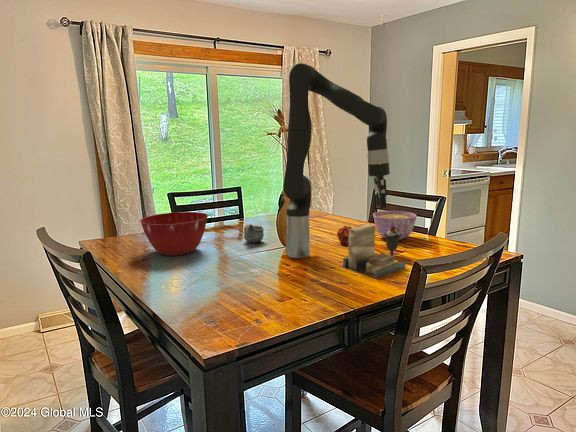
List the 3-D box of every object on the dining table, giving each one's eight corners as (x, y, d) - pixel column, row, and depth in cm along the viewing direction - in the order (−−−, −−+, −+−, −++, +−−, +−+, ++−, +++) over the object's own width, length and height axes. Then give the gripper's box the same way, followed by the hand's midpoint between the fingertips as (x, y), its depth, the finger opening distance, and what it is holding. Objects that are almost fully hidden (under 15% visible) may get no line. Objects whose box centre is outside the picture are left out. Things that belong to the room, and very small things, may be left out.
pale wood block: (348, 266, 153) (348, 229, 151) (368, 260, 160) (368, 224, 157) (354, 268, 151) (355, 230, 148) (374, 262, 158) (375, 225, 155)
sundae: (388, 262, 162) (389, 224, 159) (380, 257, 169) (381, 221, 166) (403, 260, 164) (404, 223, 161) (394, 256, 170) (396, 219, 167)
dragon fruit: (349, 243, 198) (346, 253, 187) (335, 232, 198) (331, 242, 187) (360, 229, 195) (357, 239, 184) (345, 219, 195) (341, 228, 184)
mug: (266, 240, 200) (266, 219, 198) (259, 246, 188) (259, 225, 186) (247, 239, 202) (246, 219, 200) (239, 246, 190) (238, 224, 188)
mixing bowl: (128, 256, 177) (124, 220, 174) (175, 240, 202) (172, 209, 199) (179, 264, 164) (176, 226, 161) (222, 247, 189) (221, 213, 186)
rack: (339, 270, 154) (339, 258, 153) (368, 261, 163) (368, 250, 163) (376, 282, 141) (376, 269, 140) (405, 272, 150) (405, 260, 150)
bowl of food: (421, 243, 189) (422, 218, 187) (376, 244, 189) (377, 219, 187) (409, 233, 208) (410, 210, 206) (369, 233, 209) (369, 211, 207)
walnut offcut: (369, 263, 146) (369, 258, 146) (381, 258, 152) (381, 253, 151) (382, 266, 143) (382, 261, 142) (393, 261, 148) (394, 255, 148)
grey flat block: (366, 271, 148) (366, 263, 147) (384, 265, 154) (384, 257, 153) (379, 275, 143) (380, 267, 142) (397, 269, 149) (398, 261, 149)
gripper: (365, 163, 160) (369, 205, 162) (370, 164, 145) (373, 210, 148) (385, 160, 159) (388, 203, 161) (391, 161, 145) (395, 208, 147)
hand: (381, 206), depth 154 cm, fingers open, 8 cm apart
